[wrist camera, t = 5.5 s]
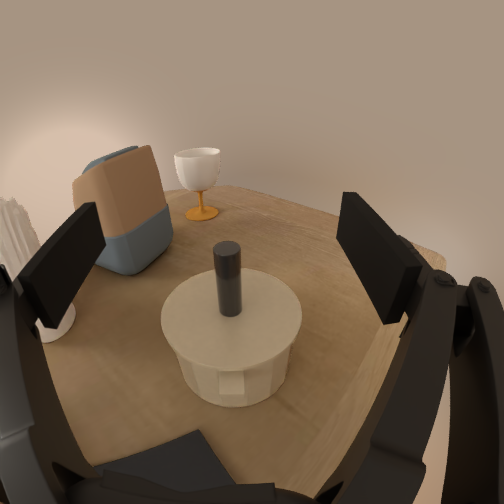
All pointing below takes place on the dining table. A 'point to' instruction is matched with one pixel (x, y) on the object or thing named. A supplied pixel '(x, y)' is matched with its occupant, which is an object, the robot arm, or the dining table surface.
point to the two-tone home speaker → (127, 208)
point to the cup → (198, 177)
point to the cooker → (236, 381)
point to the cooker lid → (231, 315)
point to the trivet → (175, 465)
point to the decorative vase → (24, 256)
